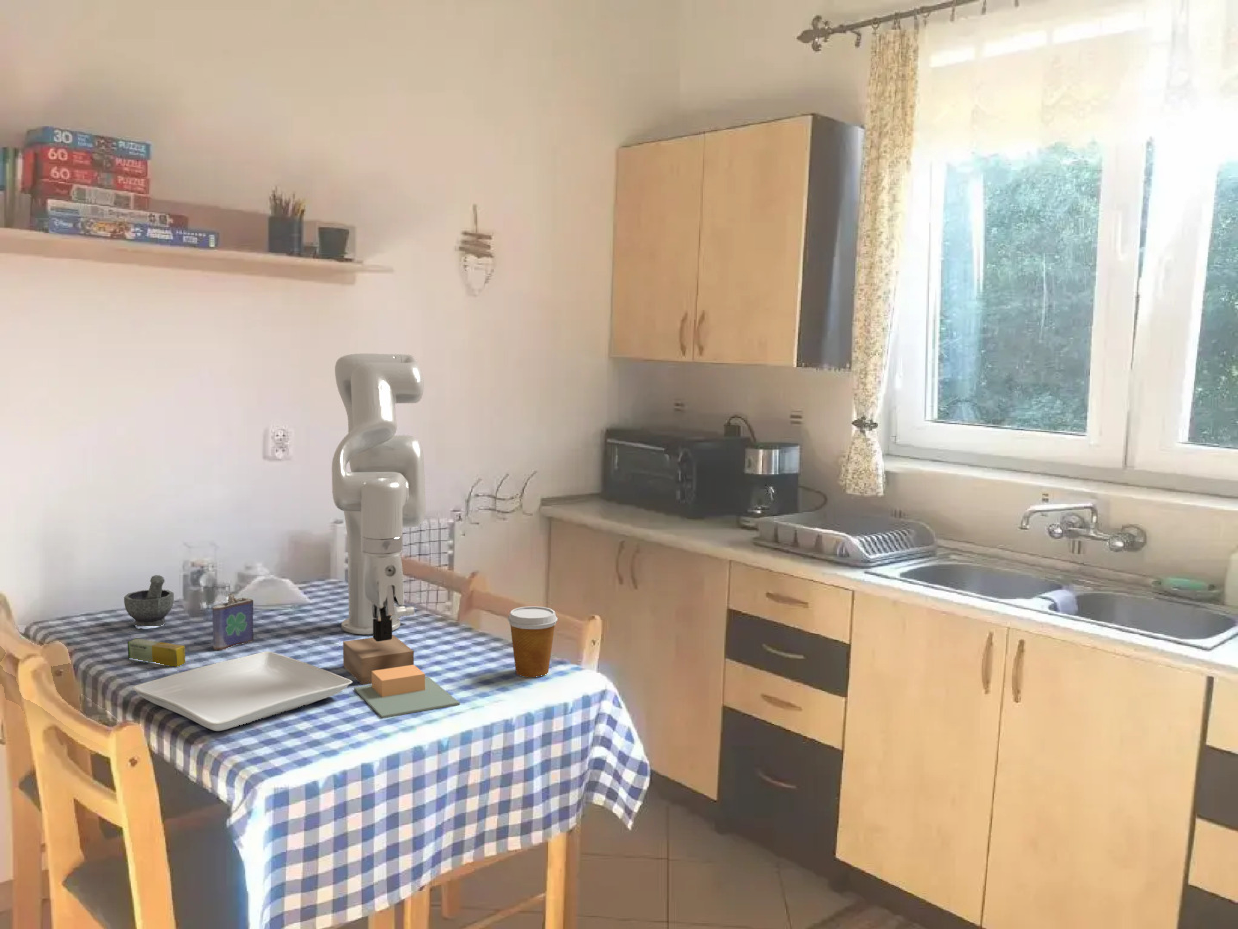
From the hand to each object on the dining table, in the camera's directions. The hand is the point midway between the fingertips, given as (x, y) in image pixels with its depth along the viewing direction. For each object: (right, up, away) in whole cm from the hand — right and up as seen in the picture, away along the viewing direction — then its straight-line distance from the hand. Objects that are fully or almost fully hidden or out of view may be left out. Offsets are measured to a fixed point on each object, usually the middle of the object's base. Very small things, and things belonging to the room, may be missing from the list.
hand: (382, 639), depth 196 cm
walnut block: (-2, -7, +3) cm, 7 cm away
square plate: (-21, -9, -14) cm, 27 cm away
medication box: (-45, -6, +6) cm, 46 cm away
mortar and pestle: (-57, -2, +30) cm, 65 cm away
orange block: (+5, -5, -8) cm, 10 cm away
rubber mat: (+7, -9, -11) cm, 15 cm away
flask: (-35, -4, +18) cm, 39 cm away
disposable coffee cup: (+28, -7, +4) cm, 29 cm away
